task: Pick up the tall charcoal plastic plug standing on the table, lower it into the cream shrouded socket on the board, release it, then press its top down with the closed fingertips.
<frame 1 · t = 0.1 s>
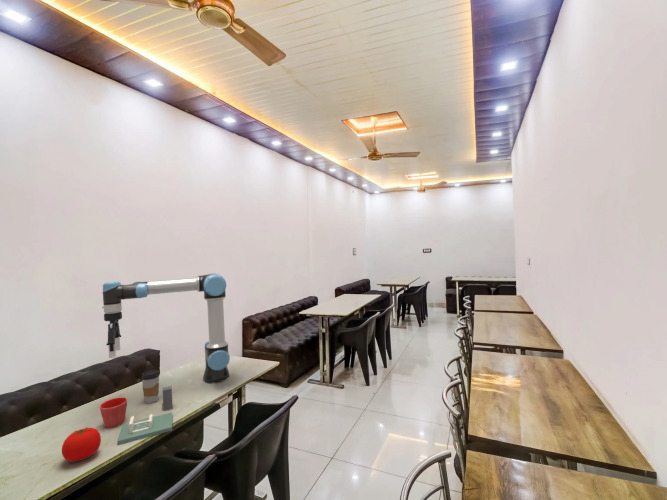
hand: (114, 353, 163), 28 cm above the table, fingers open, 13 cm apart
flower pot: (114, 423, 149), on the table
tomato: (82, 457, 124), on the table
coffee cup: (151, 401, 170), on the table
board: (147, 428, 142), on the table
plug: (168, 408, 161), on the table
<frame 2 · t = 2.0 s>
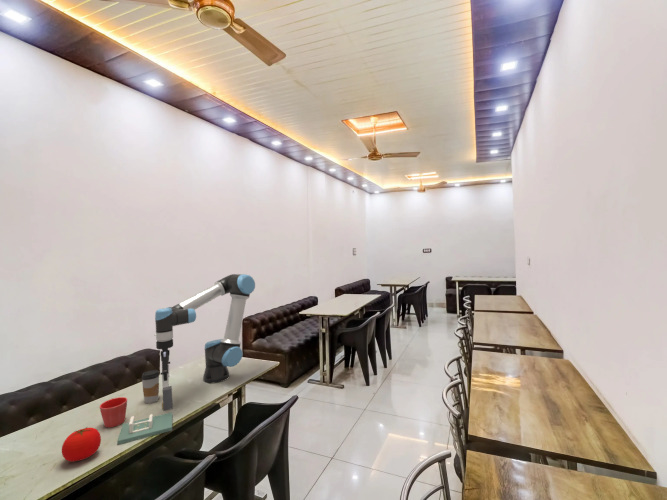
hand: (166, 382, 161), 13 cm above the table, fingers open, 13 cm apart
nothing on the table moved.
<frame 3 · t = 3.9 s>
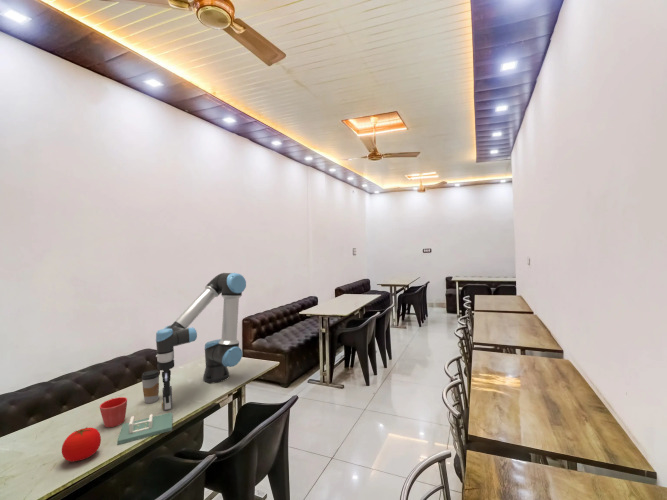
hand: (167, 406, 161), 1 cm above the table, fingers closed on plug, 4 cm apart
plug: (168, 408, 161), on the table, touching gripper
everything else where it was.
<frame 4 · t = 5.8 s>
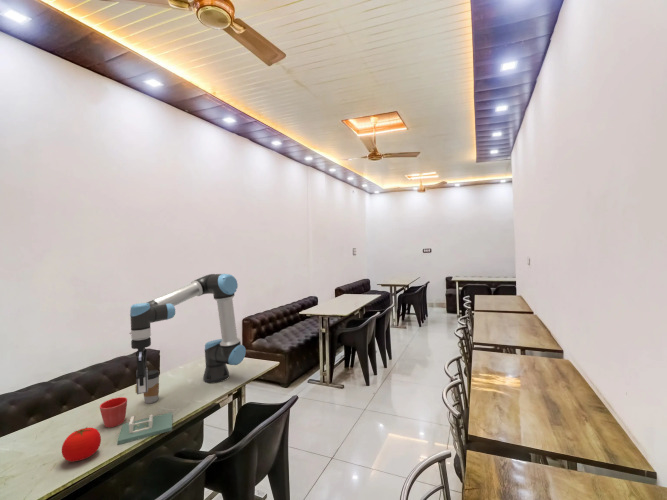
hand: (142, 390, 144), 17 cm above the table, fingers closed on plug, 4 cm apart
plug: (142, 391, 144), point 16 cm above the table, touching gripper
everything else where it was.
when the fingers open (3 cm above the table, at t = 8.1 s): plug stays where it is, resting on board.
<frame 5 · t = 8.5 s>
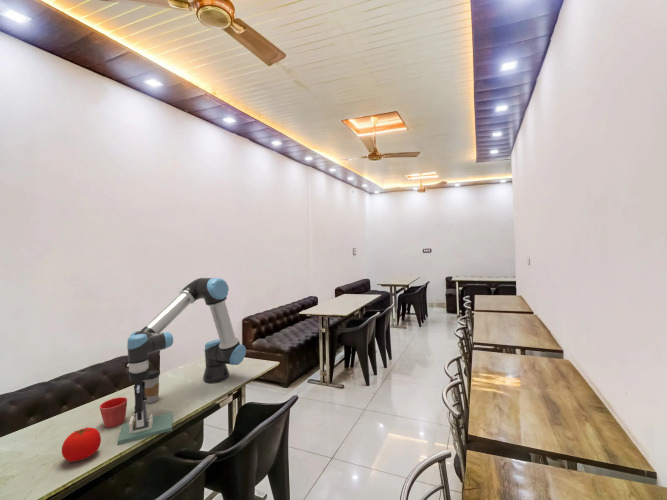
hand: (141, 420, 141), 4 cm above the table, fingers open, 9 cm apart
plug: (141, 426, 141), point 2 cm above the table, touching board
everything else where it was.
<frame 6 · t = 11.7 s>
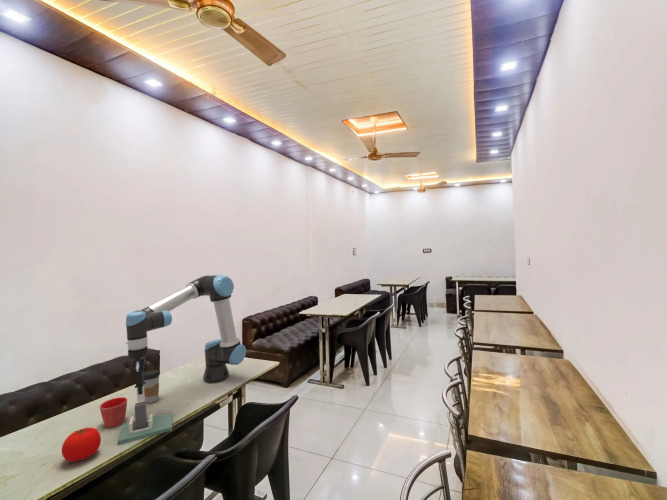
hand: (141, 400, 142), 13 cm above the table, fingers closed
nothing on the table moved.
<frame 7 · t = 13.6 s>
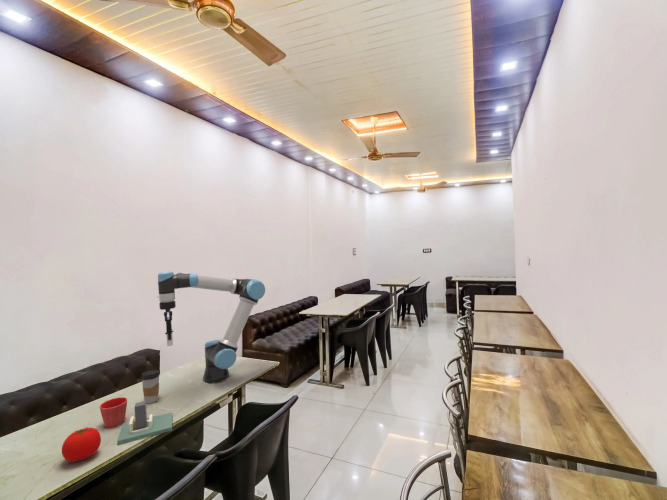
hand: (170, 345, 169), 29 cm above the table, fingers closed
nothing on the table moved.
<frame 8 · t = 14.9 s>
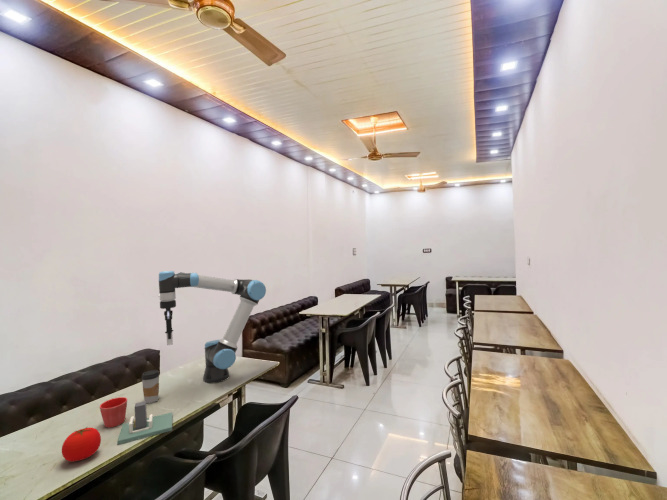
hand: (169, 344, 170), 29 cm above the table, fingers closed
nothing on the table moved.
at the end: plug 0.1 cm from the target spot on the board, point 1.7 cm above the board's base; plug tilted 0°; the gripper is holding nothing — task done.
